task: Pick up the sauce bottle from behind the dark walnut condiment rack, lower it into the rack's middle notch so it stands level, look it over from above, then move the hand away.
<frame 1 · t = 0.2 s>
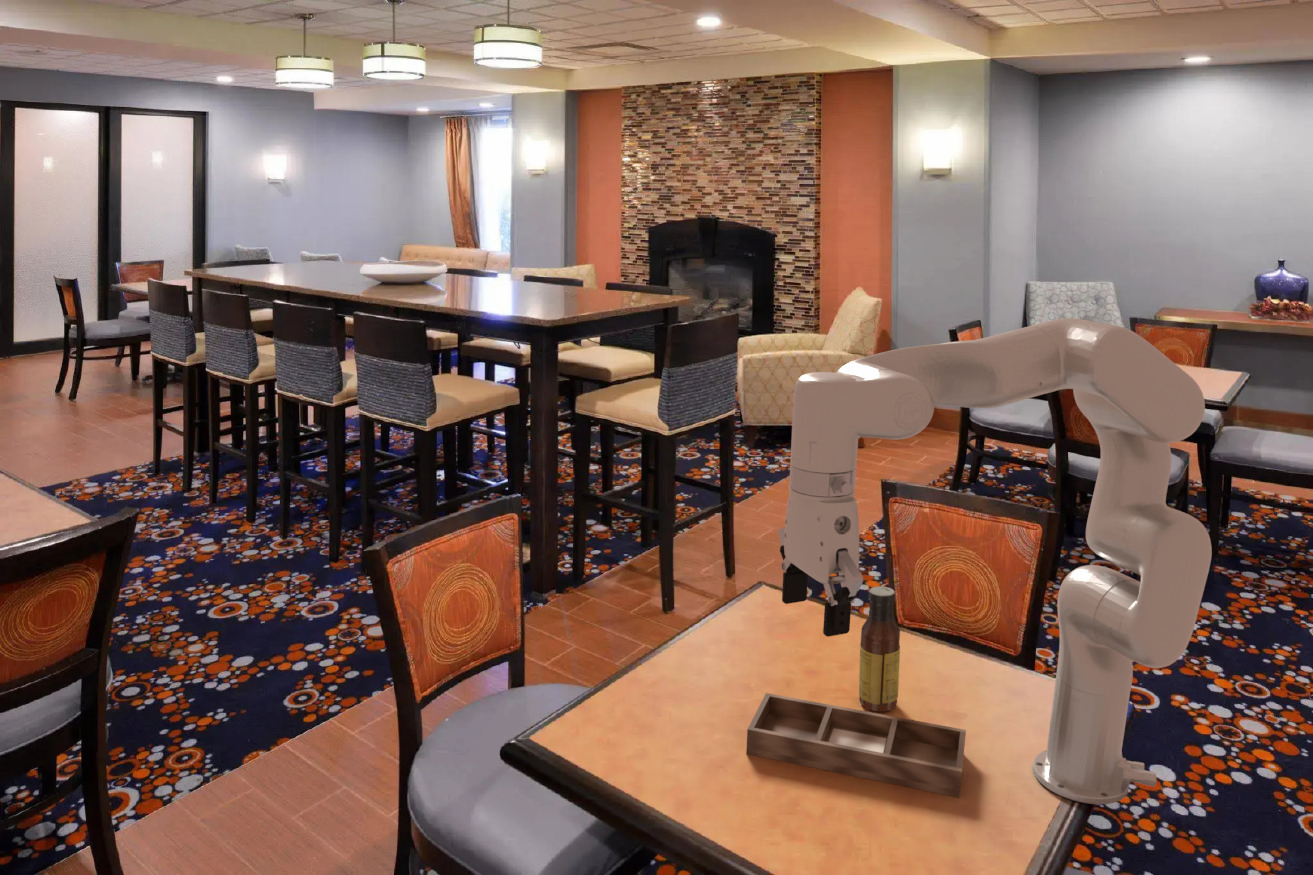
hand: (814, 617, 118), 31 cm above the table, tool pointing down, fingers open, 9 cm apart
walnut rack: (855, 753, 146), on the table
sauce bottle: (876, 705, 160), on the table
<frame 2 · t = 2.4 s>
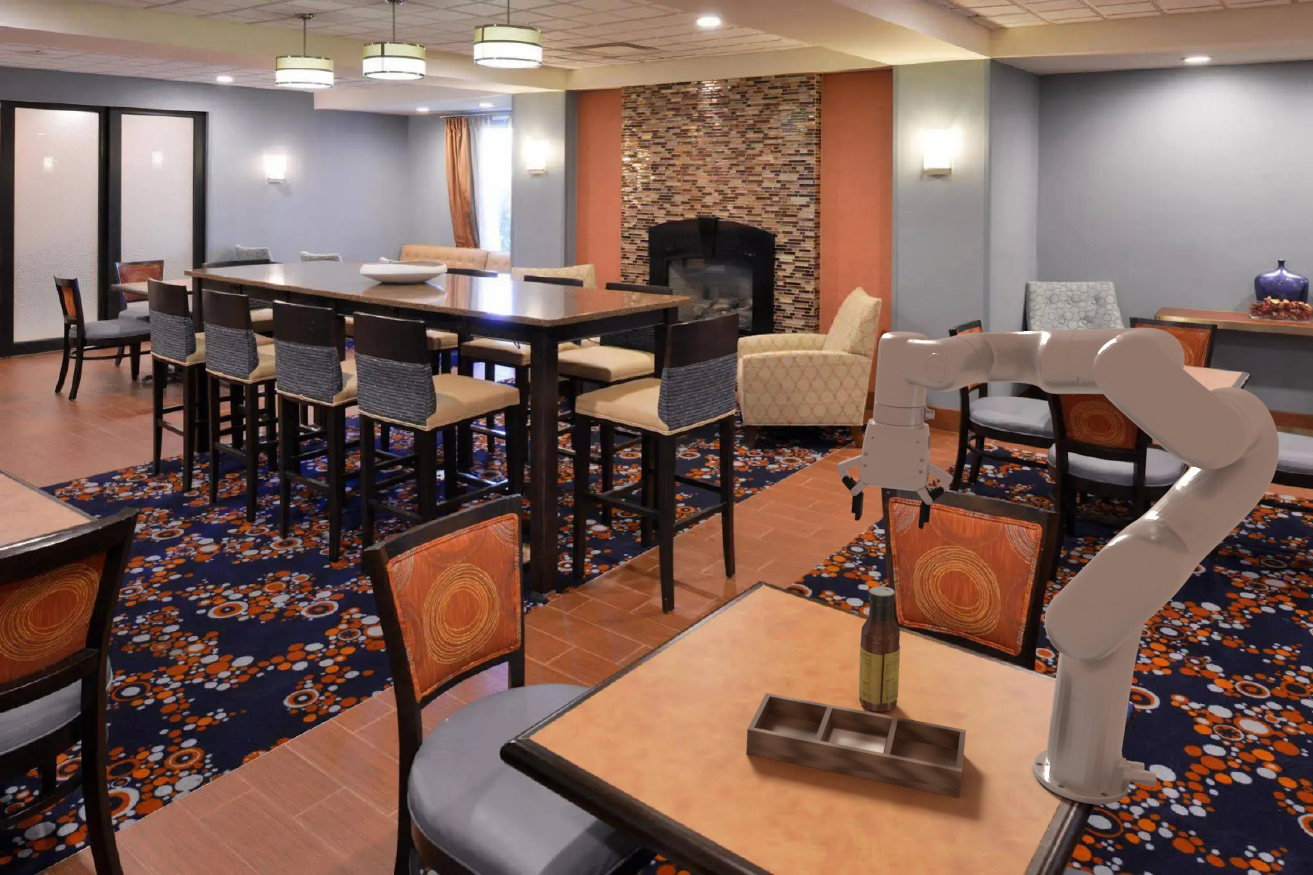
hand: (889, 522, 153), 31 cm above the table, tool pointing down, fingers open, 9 cm apart
nothing on the table moved.
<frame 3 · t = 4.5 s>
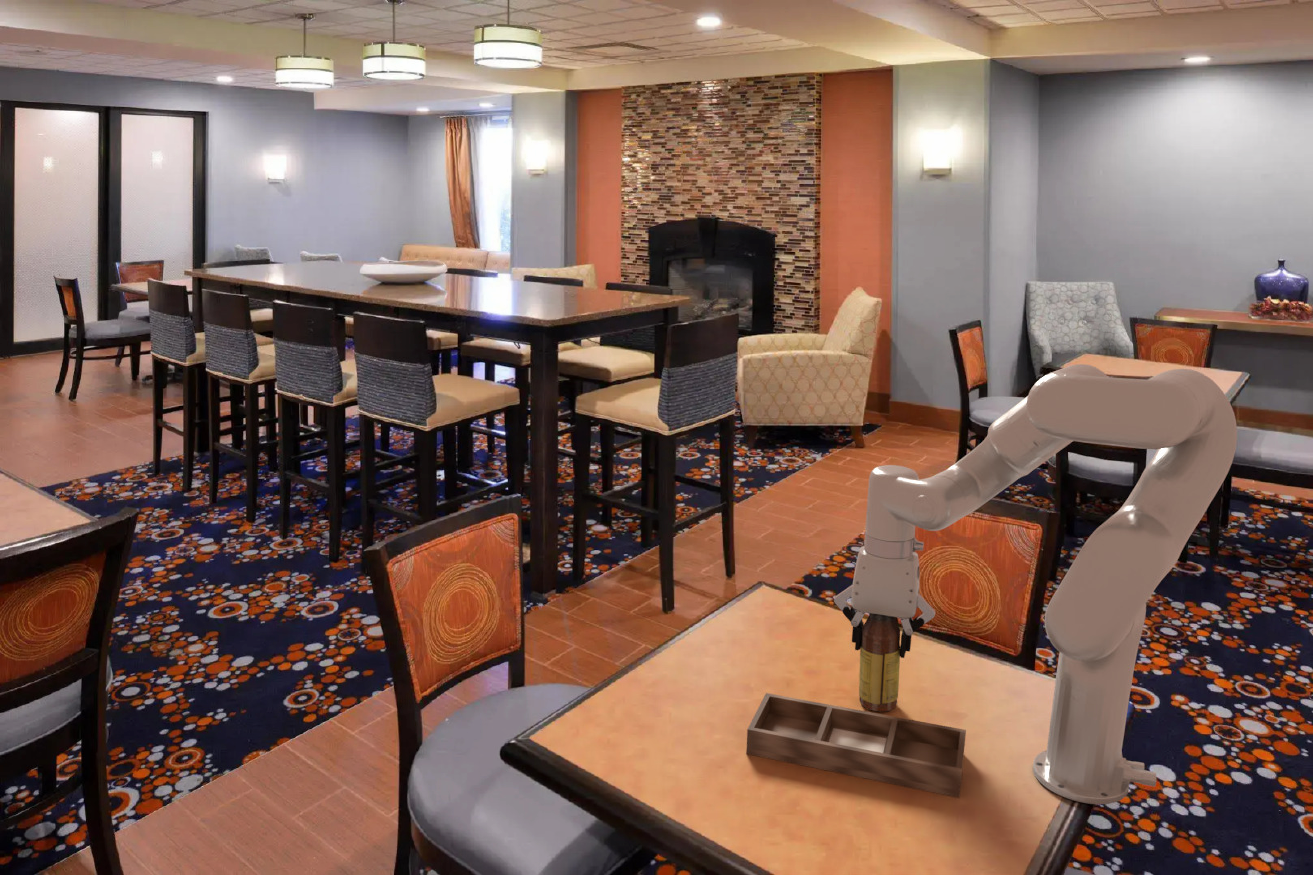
hand: (880, 649, 158), 10 cm above the table, tool pointing down, fingers closed on sauce bottle, 6 cm apart
sauce bottle: (876, 705, 160), on the table, touching gripper
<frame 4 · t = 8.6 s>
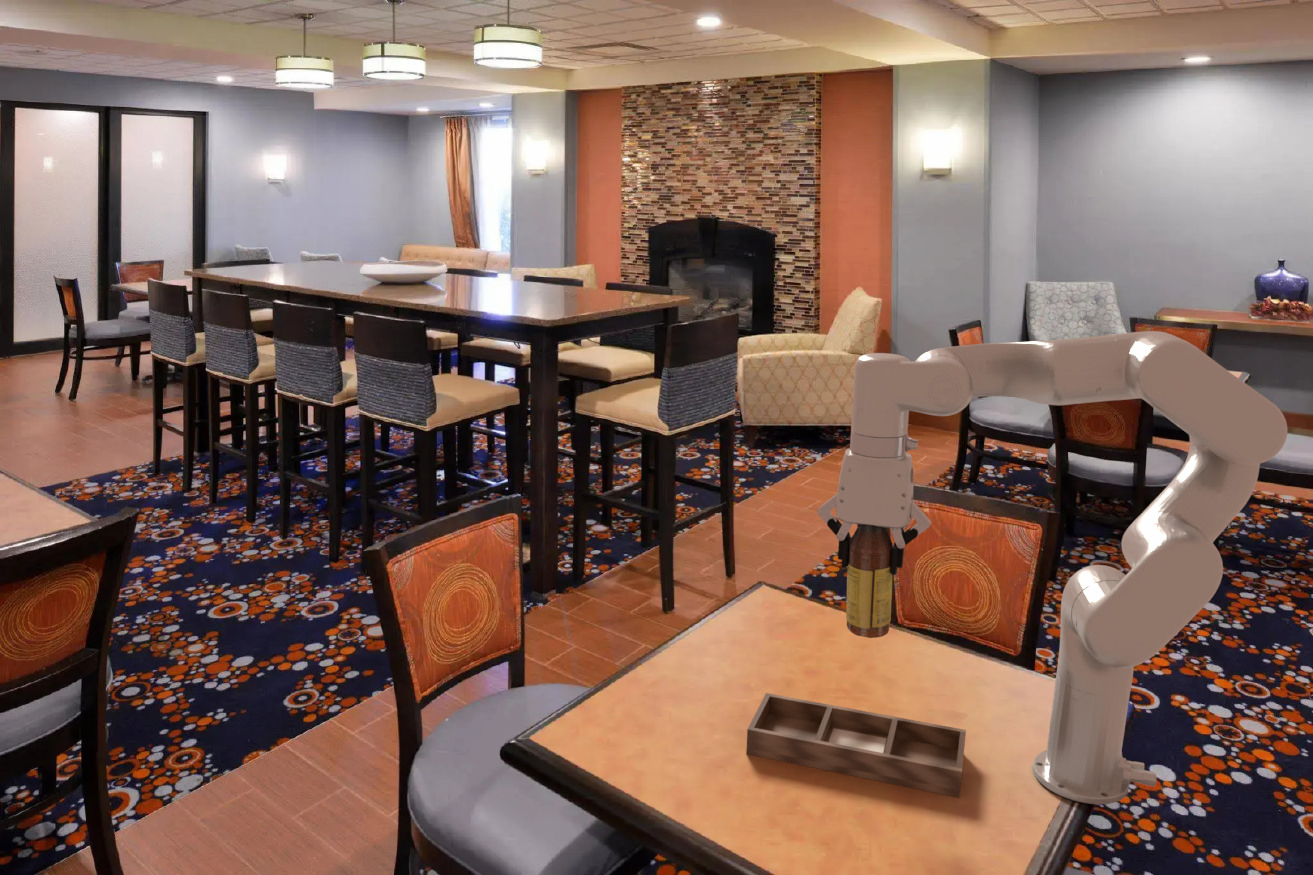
hand: (869, 567, 139), 29 cm above the table, tool pointing down, fingers closed on sauce bottle, 6 cm apart
sauce bottle: (866, 631, 141), point 20 cm above the table, touching gripper
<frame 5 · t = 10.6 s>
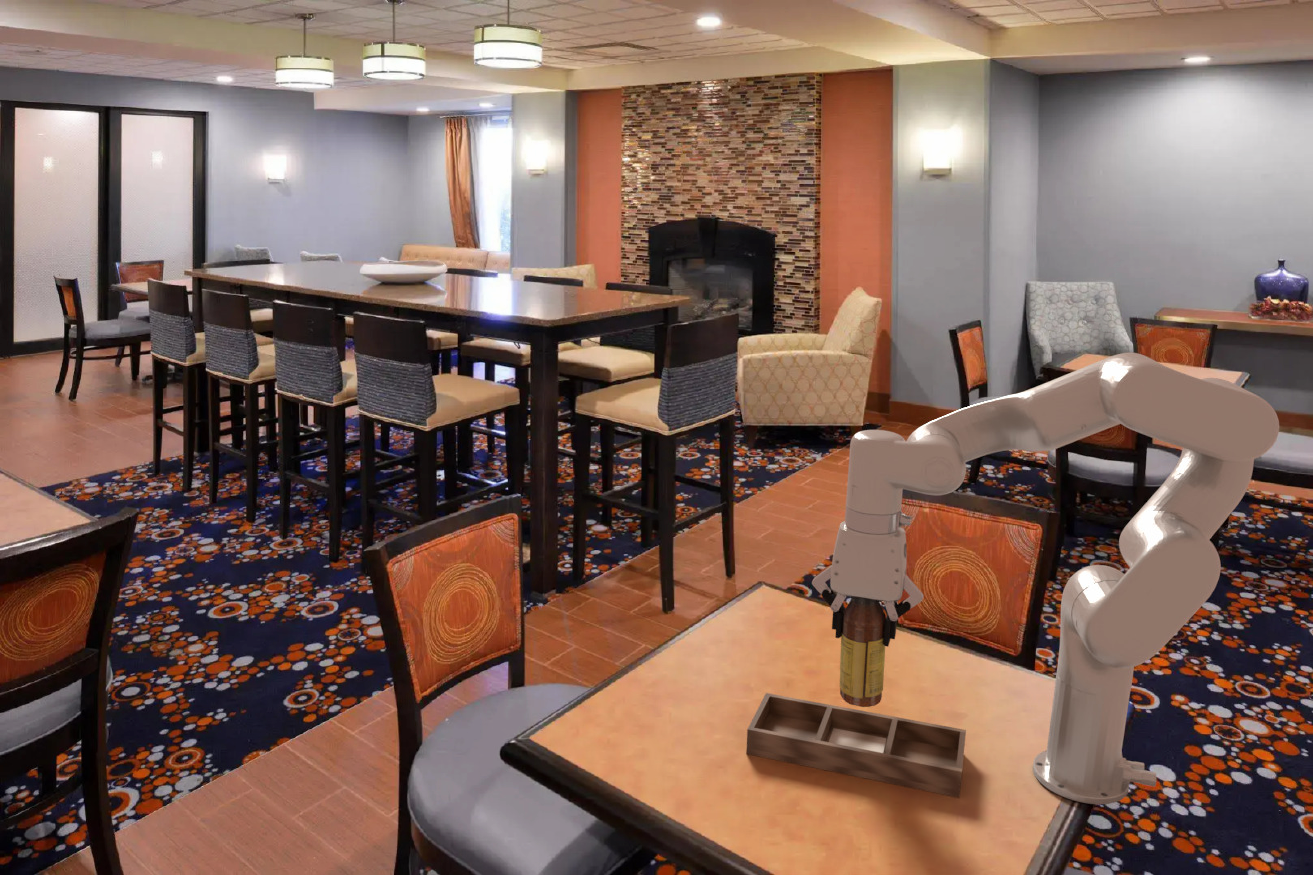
hand: (863, 637, 142), 19 cm above the table, tool pointing down, fingers closed on sauce bottle, 6 cm apart
sauce bottle: (858, 699, 144), point 9 cm above the table, touching gripper
when the fingers open (12 cm above the table, at t = 12.4 s): sauce bottle drops 1 cm, resting on walnut rack.
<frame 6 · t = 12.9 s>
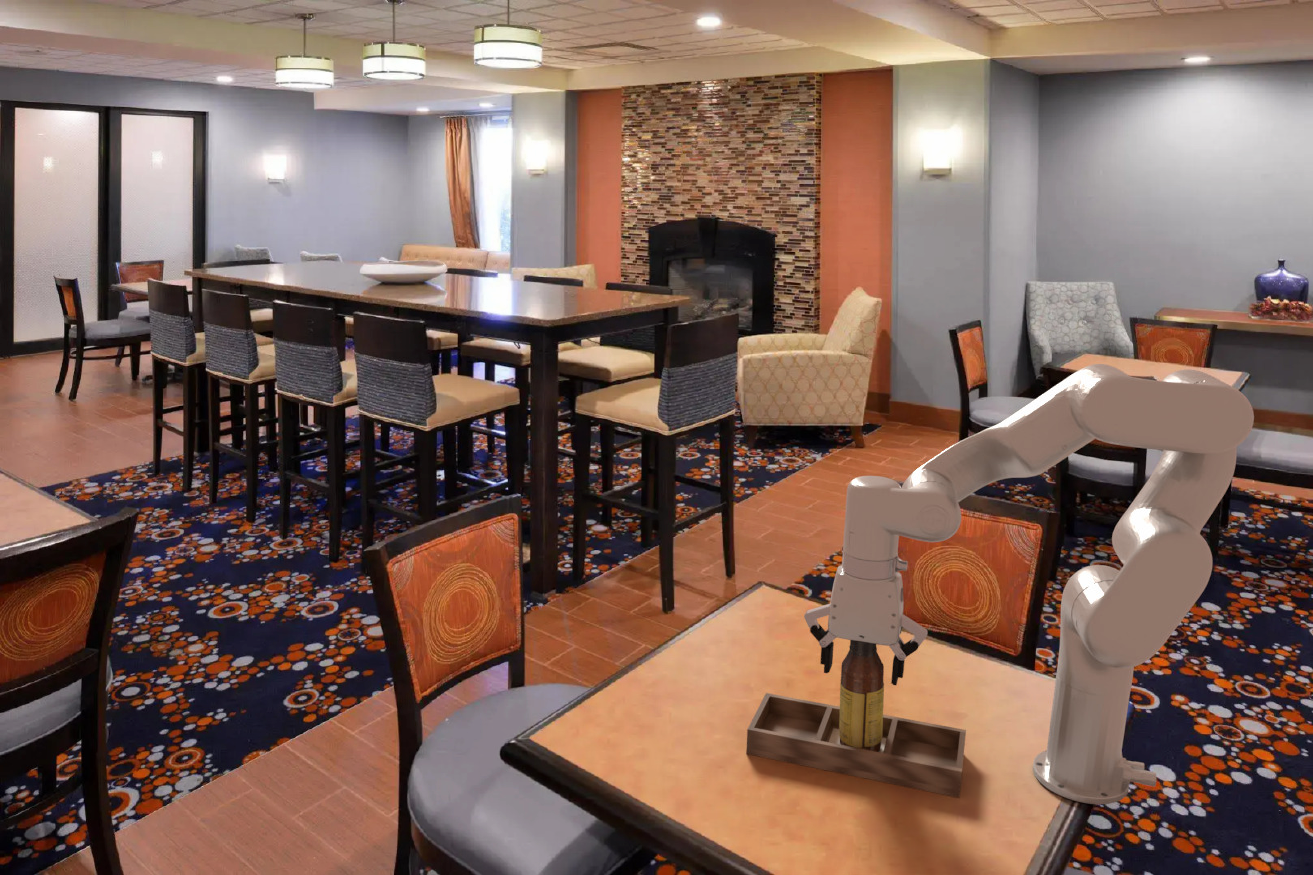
hand: (861, 674, 143), 13 cm above the table, tool pointing down, fingers open, 9 cm apart
sauce bottle: (858, 748, 146), point 1 cm above the table, touching walnut rack
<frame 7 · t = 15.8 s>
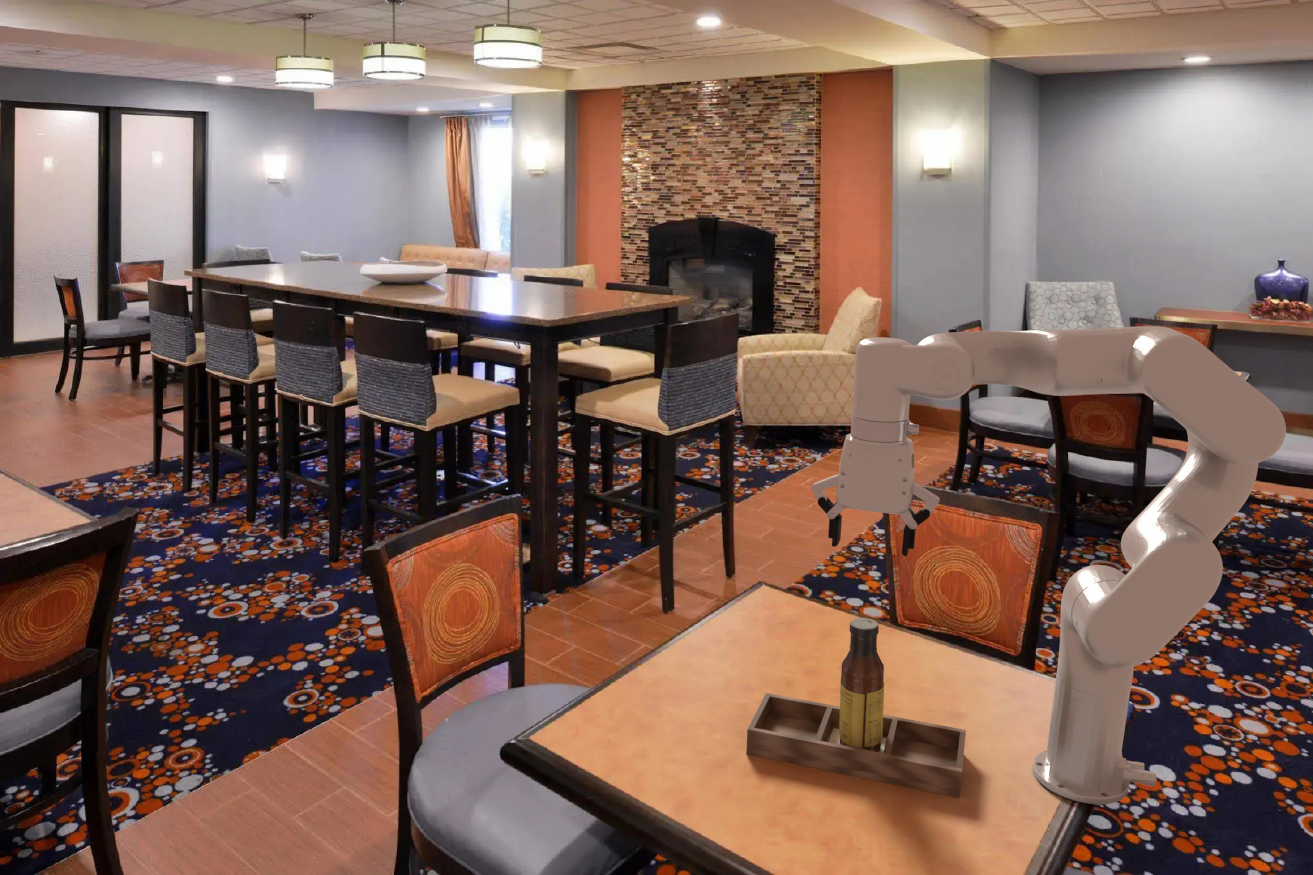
hand: (870, 548, 138), 32 cm above the table, tool pointing down, fingers open, 9 cm apart
nothing on the table moved.
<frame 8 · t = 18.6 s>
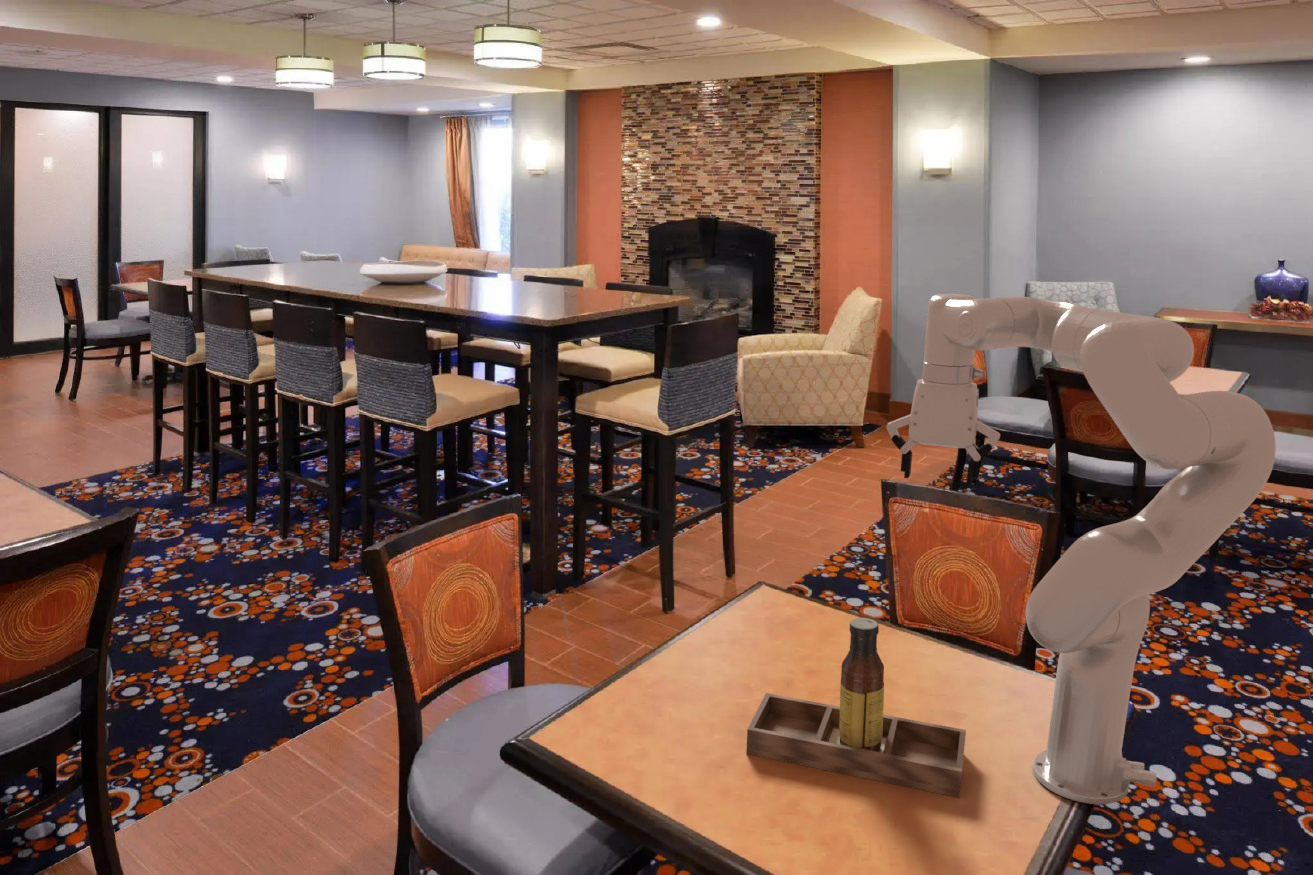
hand: (938, 479, 158), 36 cm above the table, tool pointing down, fingers open, 9 cm apart
nothing on the table moved.
at the end: sauce bottle inside the target area on the walnut rack (0.4 cm from its centre), point 1.0 cm above the walnut rack's base; sauce bottle tilted 0°; the gripper is holding nothing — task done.
